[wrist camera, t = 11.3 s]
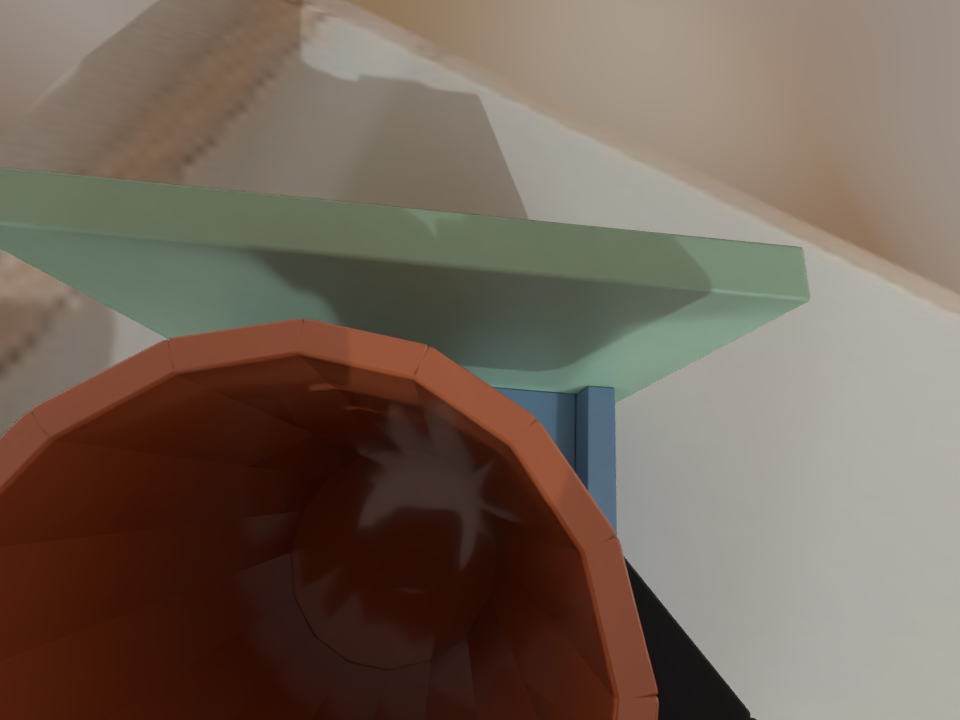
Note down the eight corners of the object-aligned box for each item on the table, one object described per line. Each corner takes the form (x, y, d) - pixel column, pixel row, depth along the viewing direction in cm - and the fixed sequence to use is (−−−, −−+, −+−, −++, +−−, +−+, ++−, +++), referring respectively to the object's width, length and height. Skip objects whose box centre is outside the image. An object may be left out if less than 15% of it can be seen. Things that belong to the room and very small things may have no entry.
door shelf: (599, 697, 18) (941, 1171, 5) (186, 674, 17) (-498, 1153, 5) (598, 387, 21) (804, 245, 9) (255, 358, 21) (-35, 161, 8)
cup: (546, 518, 14) (779, 579, 4) (421, 729, 12) (303, 1721, 2) (377, 400, 15) (230, 208, 5) (237, 583, 13) (-454, 878, 3)
